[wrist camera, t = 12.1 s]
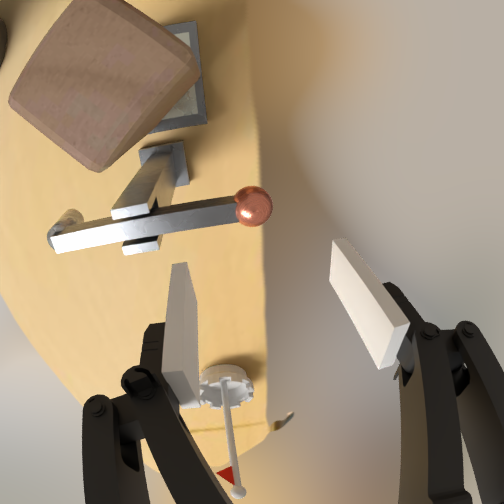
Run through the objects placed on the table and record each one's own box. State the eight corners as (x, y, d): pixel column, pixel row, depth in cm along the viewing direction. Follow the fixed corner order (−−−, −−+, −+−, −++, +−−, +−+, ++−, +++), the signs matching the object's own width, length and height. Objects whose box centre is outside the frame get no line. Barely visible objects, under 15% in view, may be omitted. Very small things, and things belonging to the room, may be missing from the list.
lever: (59, 208, 24) (33, 236, 19) (261, 169, 26) (275, 191, 21) (69, 236, 26) (47, 268, 21) (263, 202, 27) (277, 230, 22)
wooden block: (145, 29, 26) (87, -23, 9) (204, 74, 30) (201, 54, 13) (94, 90, 28) (-1, 105, 12) (150, 134, 33) (96, 183, 16)
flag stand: (262, 374, 65) (288, 491, 40) (223, 396, 69) (238, 504, 43) (223, 353, 59) (241, 490, 34) (183, 378, 62) (189, 500, 37)
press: (100, 46, 27) (21, 25, 10) (196, 24, 28) (189, -33, 12) (126, 193, 39) (78, 273, 22) (214, 177, 40) (223, 250, 23)
